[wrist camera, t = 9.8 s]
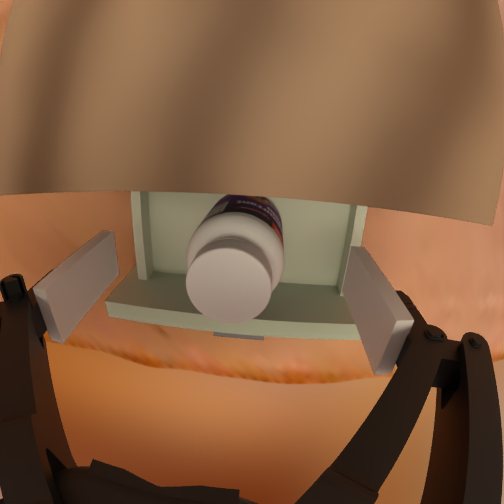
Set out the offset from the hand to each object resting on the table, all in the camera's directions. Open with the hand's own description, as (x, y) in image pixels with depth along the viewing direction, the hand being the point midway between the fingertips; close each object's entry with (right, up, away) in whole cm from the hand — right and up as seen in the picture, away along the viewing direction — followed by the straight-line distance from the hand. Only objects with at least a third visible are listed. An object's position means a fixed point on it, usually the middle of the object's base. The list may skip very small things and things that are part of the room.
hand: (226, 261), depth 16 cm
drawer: (+1, +3, +9) cm, 9 cm away
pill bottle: (+1, +3, +7) cm, 7 cm away
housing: (+2, +15, +4) cm, 15 cm away
